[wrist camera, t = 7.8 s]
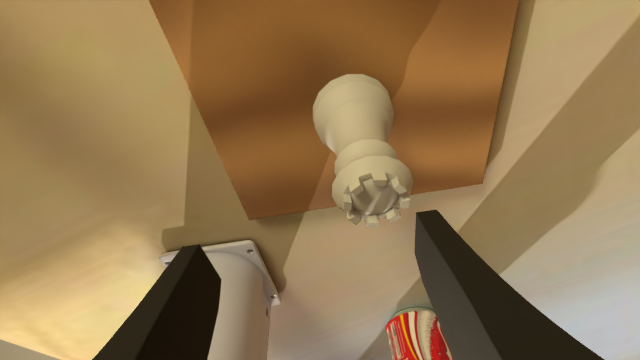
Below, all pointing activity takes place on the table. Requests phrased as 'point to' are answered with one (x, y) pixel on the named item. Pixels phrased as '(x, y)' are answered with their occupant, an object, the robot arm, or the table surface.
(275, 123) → the brown wooden board
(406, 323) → the soda can
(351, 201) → the rook chess piece
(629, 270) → the table surface
